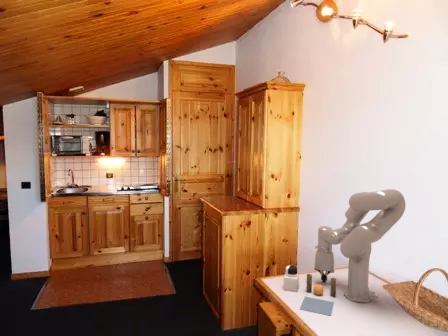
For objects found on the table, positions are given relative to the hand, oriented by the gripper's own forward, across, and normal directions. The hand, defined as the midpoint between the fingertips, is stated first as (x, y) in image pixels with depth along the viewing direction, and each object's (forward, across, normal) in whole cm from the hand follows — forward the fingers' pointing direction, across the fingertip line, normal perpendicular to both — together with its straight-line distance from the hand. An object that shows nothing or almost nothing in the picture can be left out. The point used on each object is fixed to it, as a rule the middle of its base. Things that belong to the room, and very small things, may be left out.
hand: (324, 281), depth 179 cm
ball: (-1, -1, -14) cm, 14 cm away
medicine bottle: (+2, -16, -13) cm, 20 cm away
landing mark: (+2, 0, -27) cm, 27 cm away
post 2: (+2, +6, -13) cm, 14 cm away
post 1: (+2, -6, -13) cm, 14 cm away
